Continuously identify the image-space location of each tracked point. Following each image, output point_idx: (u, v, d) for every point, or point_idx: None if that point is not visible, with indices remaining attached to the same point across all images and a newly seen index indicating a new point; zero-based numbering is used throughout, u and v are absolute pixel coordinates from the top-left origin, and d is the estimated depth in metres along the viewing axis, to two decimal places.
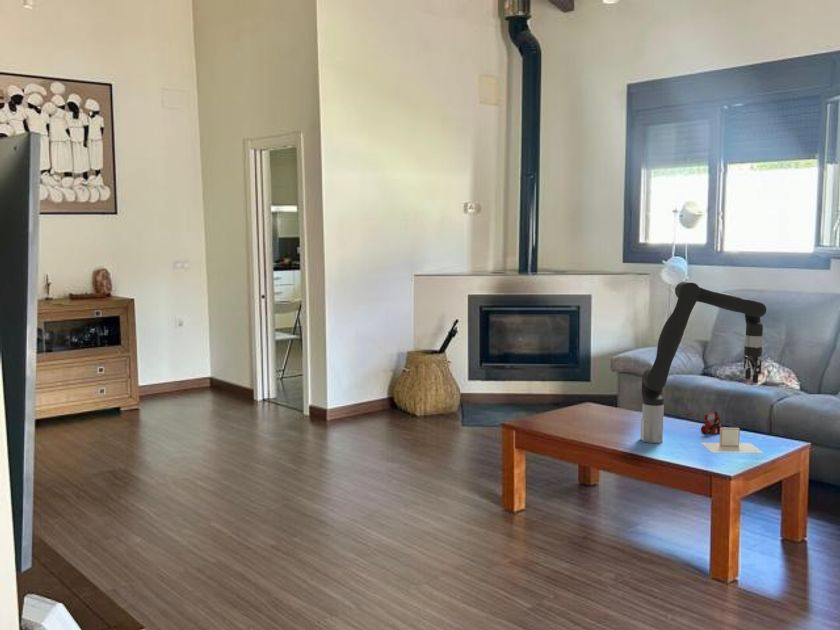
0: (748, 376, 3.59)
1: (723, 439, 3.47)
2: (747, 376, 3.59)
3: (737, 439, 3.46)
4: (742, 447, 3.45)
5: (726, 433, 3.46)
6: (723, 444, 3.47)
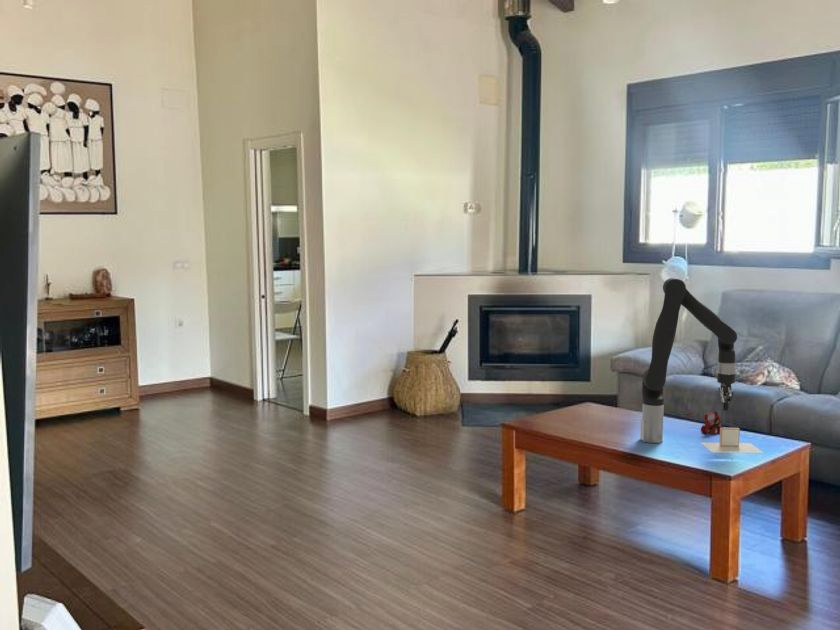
0: None
1: (723, 439, 3.47)
2: None
3: (737, 439, 3.46)
4: (742, 447, 3.45)
5: (726, 433, 3.46)
6: (723, 444, 3.47)
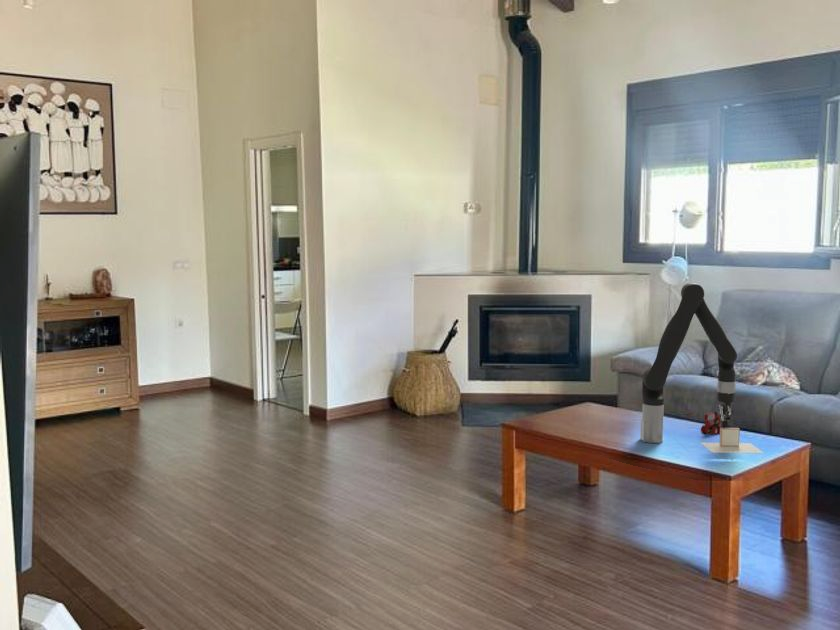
0: None
1: (723, 439, 3.47)
2: None
3: (737, 439, 3.46)
4: (742, 447, 3.45)
5: (726, 433, 3.46)
6: (723, 444, 3.47)
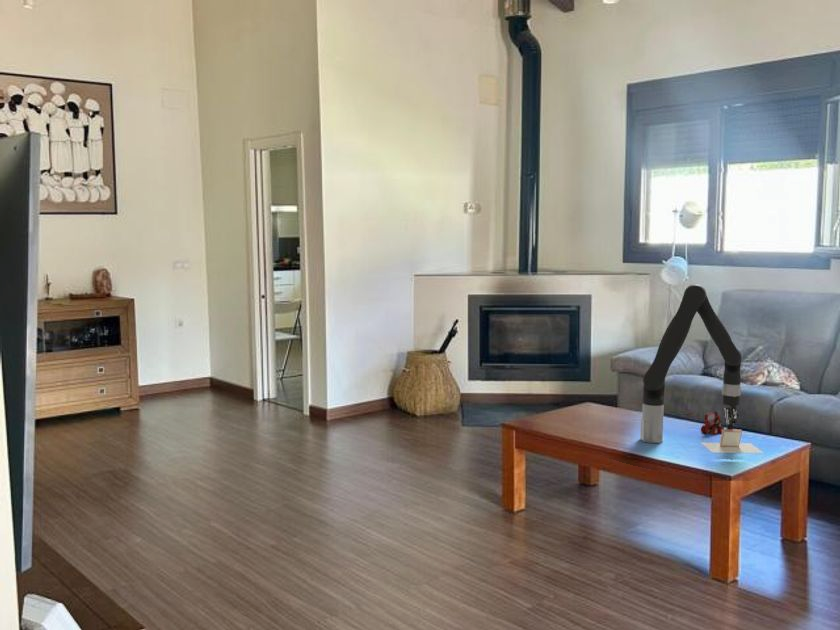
0: None
1: (724, 440, 3.45)
2: None
3: (738, 440, 3.45)
4: (742, 447, 3.45)
5: (728, 435, 3.44)
6: (723, 444, 3.47)
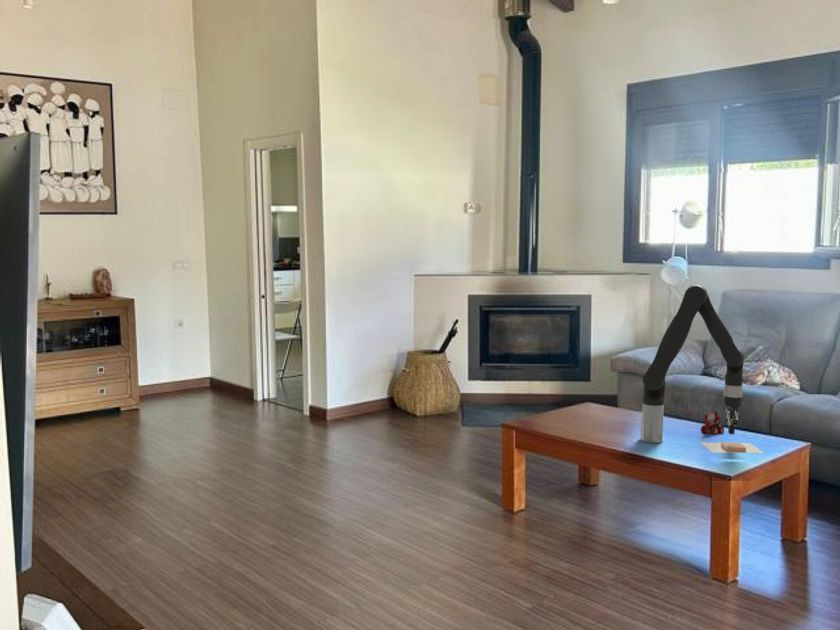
0: None
1: None
2: None
3: None
4: None
5: None
6: None
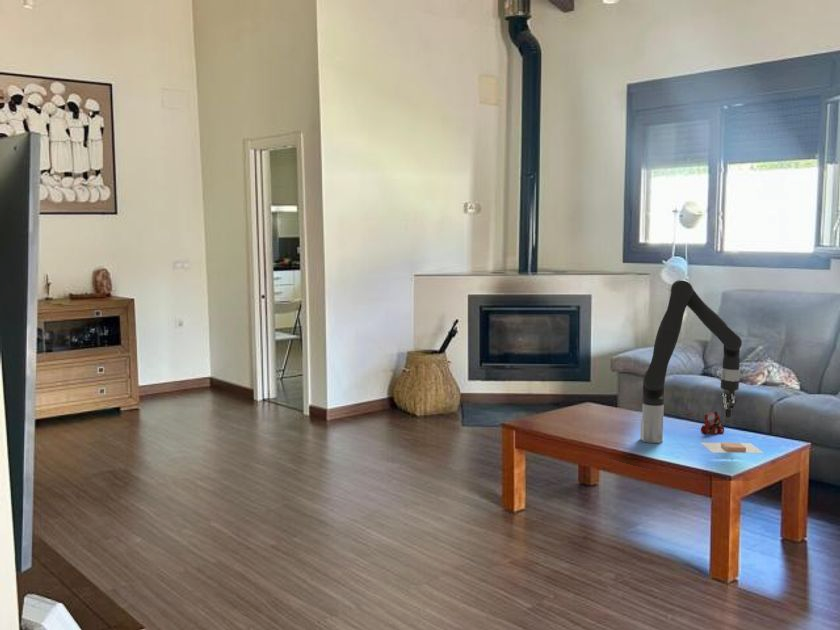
0: None
1: None
2: None
3: None
4: None
5: None
6: None
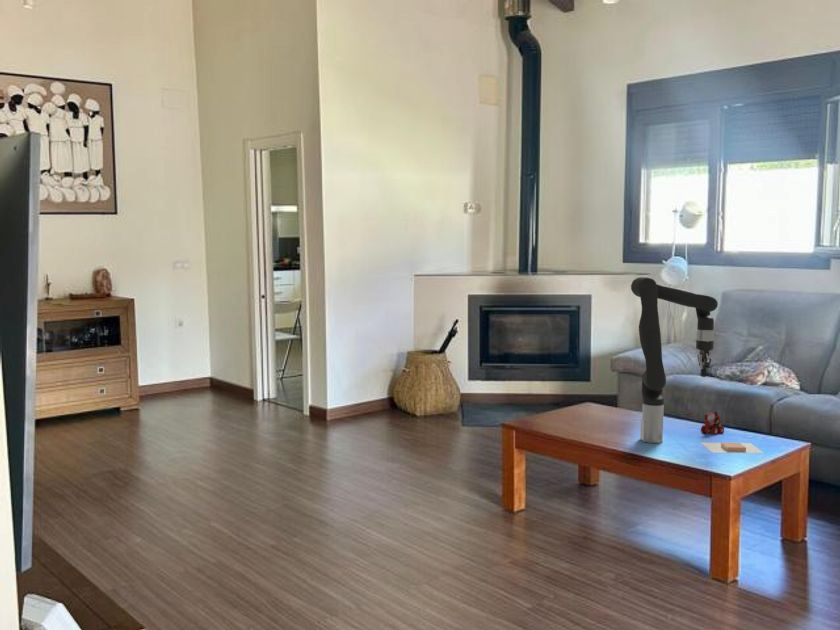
0: None
1: None
2: None
3: None
4: None
5: None
6: None
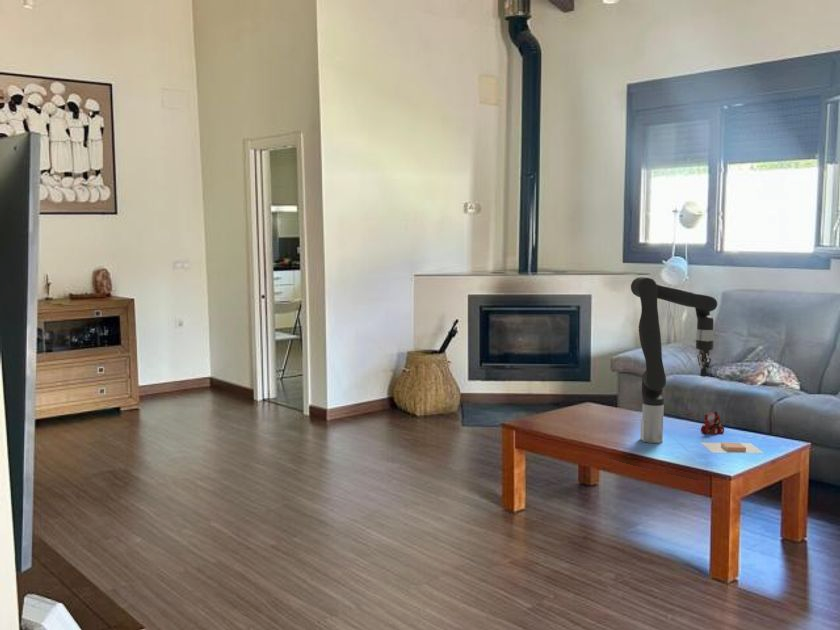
0: None
1: None
2: None
3: None
4: None
5: None
6: None
